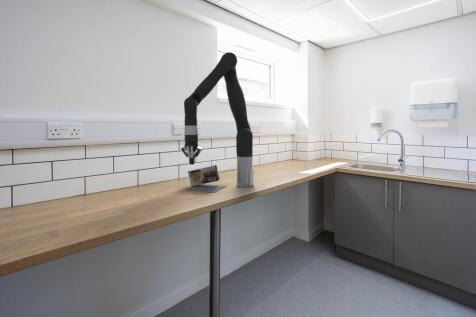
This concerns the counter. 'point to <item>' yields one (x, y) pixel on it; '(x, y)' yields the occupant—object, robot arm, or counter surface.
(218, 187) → the mat
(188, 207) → the counter surface
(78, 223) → the counter surface
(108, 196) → the counter surface
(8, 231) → the counter surface
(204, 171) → the coffee box
